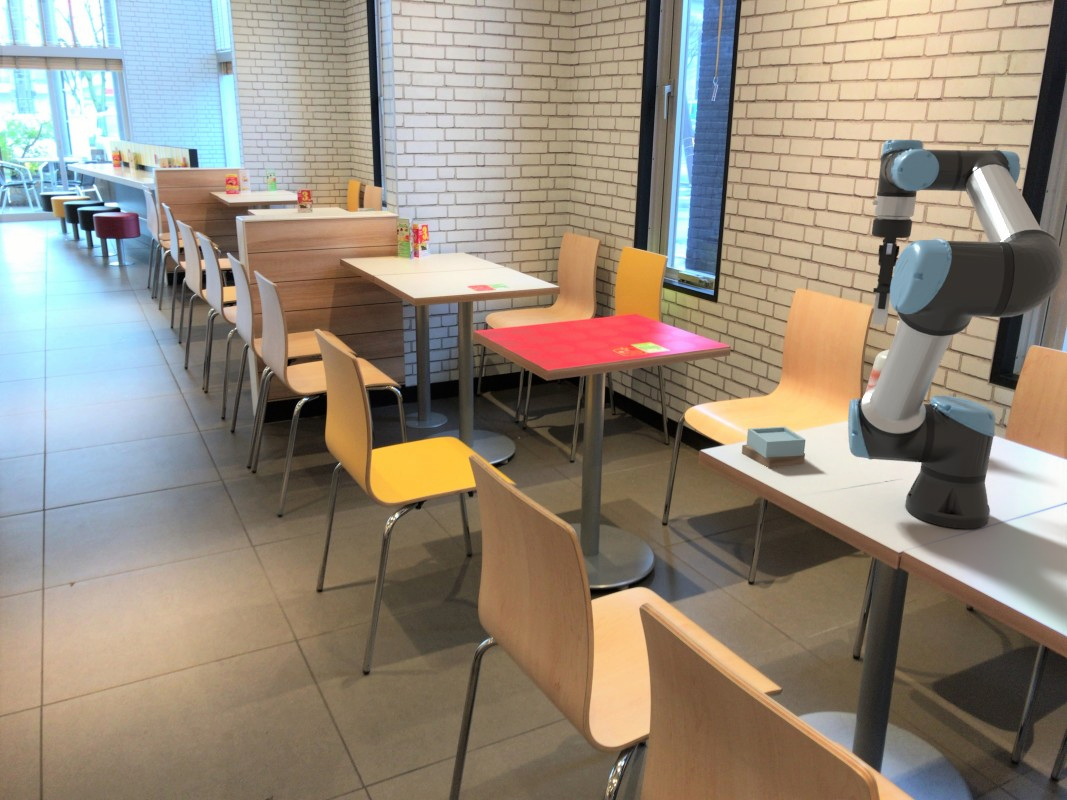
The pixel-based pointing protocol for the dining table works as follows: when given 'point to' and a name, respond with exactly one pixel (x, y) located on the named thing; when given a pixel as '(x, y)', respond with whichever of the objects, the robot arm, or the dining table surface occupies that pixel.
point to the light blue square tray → (775, 442)
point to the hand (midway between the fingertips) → (879, 318)
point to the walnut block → (771, 458)
